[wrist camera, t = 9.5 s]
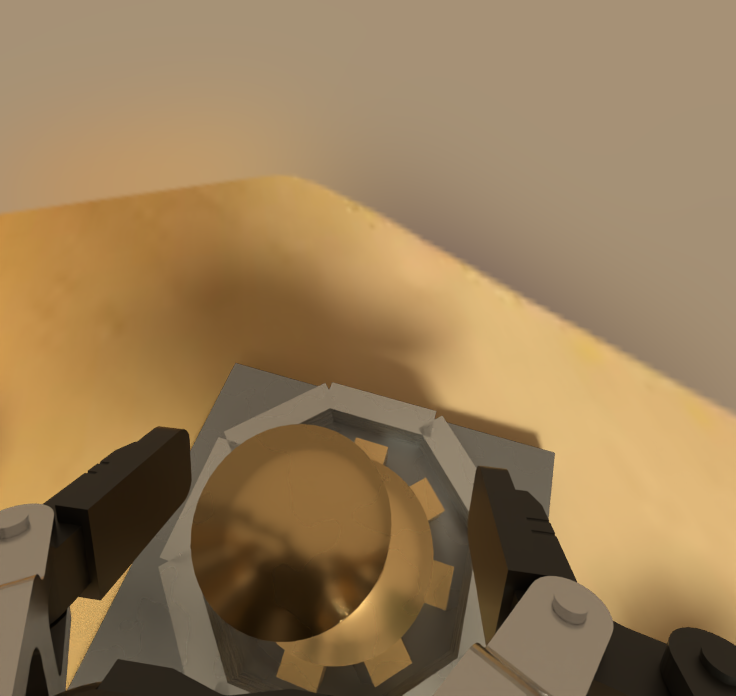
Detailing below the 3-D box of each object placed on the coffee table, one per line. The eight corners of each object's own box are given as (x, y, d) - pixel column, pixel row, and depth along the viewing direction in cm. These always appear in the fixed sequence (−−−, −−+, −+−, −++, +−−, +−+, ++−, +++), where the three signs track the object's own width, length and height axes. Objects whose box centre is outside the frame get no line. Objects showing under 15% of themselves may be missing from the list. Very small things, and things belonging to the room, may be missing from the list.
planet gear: (203, 631, 16) (-70, 715, 6) (288, 427, 20) (198, 286, 10) (416, 719, 15) (483, 1000, 5) (464, 481, 18) (555, 377, 9)
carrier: (16, 825, 14) (-108, 909, 11) (242, 373, 23) (215, 333, 19) (479, 1073, 12) (523, 1298, 8) (545, 459, 20) (583, 432, 16)
